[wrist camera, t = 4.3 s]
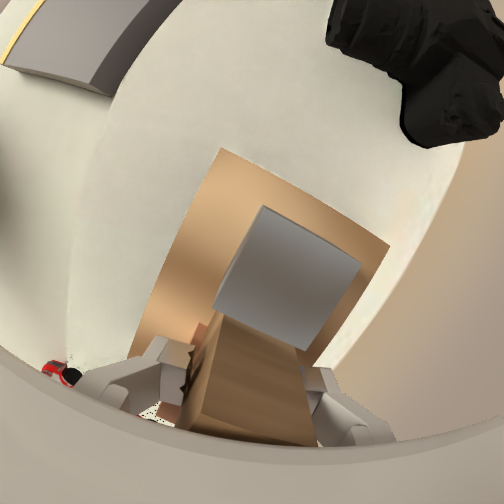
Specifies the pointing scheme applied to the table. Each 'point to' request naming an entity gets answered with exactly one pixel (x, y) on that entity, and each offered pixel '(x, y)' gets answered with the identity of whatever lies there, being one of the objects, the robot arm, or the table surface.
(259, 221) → the gray cube
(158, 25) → the plate
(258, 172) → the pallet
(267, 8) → the table surface
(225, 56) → the table surface
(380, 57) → the film camera
